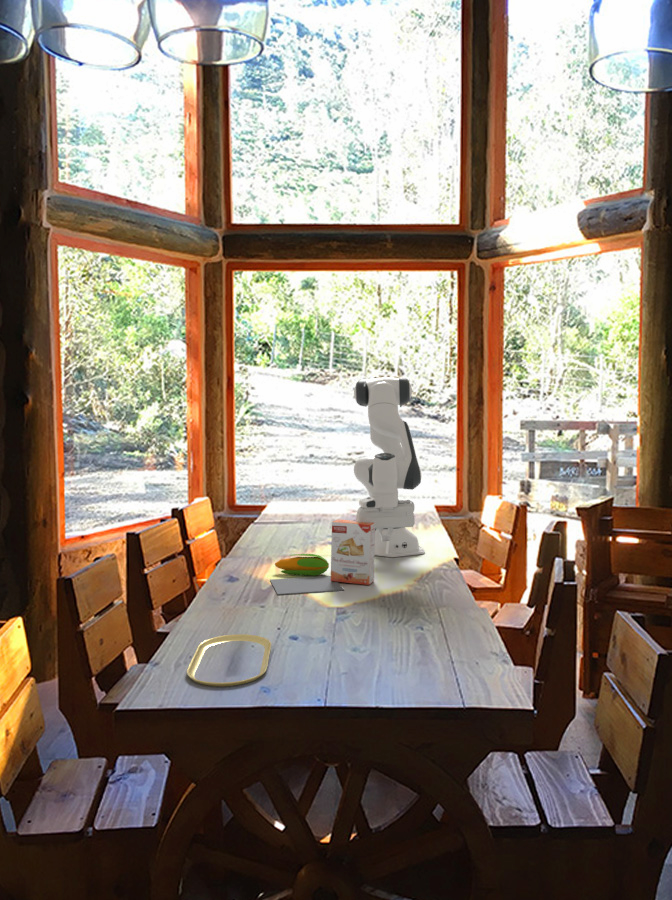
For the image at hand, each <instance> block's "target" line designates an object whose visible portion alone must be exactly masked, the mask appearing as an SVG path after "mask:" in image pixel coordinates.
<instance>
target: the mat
mask: <svg viewBox="0 0 672 900" xmlns="http://www.w3.org/2000/svg"><path fill="white" fill-rule="evenodd" d="M269 581H270V583H271V585H272V587H273V589H274V591H275V592H276V594H277V596H286V595H300V594H301V595H302V594H303V595H304V594H316V593H329V592H330V593H331V592H344V591H345V589H344V587H342V585H341V584H340V582H335V581H331V575H321V576H319V575H317V576H302V577H288V578H274V579H269Z"/></svg>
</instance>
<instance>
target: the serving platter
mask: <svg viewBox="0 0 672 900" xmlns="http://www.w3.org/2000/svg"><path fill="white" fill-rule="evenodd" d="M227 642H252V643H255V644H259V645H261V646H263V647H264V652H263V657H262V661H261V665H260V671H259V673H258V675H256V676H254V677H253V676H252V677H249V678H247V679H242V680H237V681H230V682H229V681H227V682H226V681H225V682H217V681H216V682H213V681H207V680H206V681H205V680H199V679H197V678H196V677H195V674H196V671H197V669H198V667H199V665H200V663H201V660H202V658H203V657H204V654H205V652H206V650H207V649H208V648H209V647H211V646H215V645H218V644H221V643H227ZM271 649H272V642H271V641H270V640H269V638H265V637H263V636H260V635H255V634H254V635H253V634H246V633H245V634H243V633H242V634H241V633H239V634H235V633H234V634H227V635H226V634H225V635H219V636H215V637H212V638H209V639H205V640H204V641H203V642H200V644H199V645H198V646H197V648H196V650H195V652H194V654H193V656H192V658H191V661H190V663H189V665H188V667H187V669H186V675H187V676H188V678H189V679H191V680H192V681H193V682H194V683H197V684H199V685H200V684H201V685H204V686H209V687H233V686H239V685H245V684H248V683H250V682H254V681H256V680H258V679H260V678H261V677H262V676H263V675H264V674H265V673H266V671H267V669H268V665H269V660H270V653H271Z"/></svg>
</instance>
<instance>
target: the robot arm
mask: <svg viewBox="0 0 672 900" xmlns="http://www.w3.org/2000/svg"><path fill="white" fill-rule="evenodd" d="M411 385H412V384H411V383H410V380H408V378H405V377H399V376H398V377H391V376H390V377H389V376H388V377H387V376H386V377H378V378H377V377H376V378H375V377H374V378H369V379H366V378H365V379H360V380H358V381H357V382H356V383H355V386H354V389H353V396H354V397H353V398H354V399H355V402H356V404H358V406H361V407H367V415H368V416H367V417H368V423H369V428H370V429H369V431H370V432H369V433H370V435H369V436H370V437H369V438H370V441H371V443H372V444H373V445H374V446H376V447H378V448H379V449H380V450H382V451H383V452H381V453H377V454H375V455H369V456H367V455H366V456H362V457H359V458H358V459H357V460H356V461H355V463H354V465H353V473H354V477H355V478H356V480H357V481H358V482H360V483H361V484H362V485H363V486H364V487H365V489H366V490H367V493H368V494H369V496H367V497H365V498H362V499H360V500H358V504H359V506H360V507H358V509H357V511H356V517H355V521H357V522H359V523H362V522H368V523H374V528H375V550H374V556H377V557H379V556H380V557H386V558H398V557H406V556H407V557H408V556H417V555H423V554H425V549H424V548H423V547H421V546H420V545H419V544H420V543H419V540H418V537H417V536H416V534H414V533H413V532H411V531H410V530H409V529H408V528H412V527H414V526H415V524H416V523H415V514H414V512H415V504H414V502H413V501H412V500H410V499H405V500H402V499H399V490H398V489H401V490H402V489H403V490H414V489H416V488H417V487H418V486H420V484H421V482H422V471H421V467H420V465H419V461H418V458H417V454H416V450H415V445H414V440H413V437H412V434H411V430H410V427H409V425H408V423H407V421H405V420H403V419H402V418H401V416H400V413H399V408H402V407H403V406H404V405H407V404H408V403H409V402H410V401H411V397H412V393H413V388H412V386H411Z"/></svg>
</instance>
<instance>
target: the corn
mask: <svg viewBox="0 0 672 900" xmlns="http://www.w3.org/2000/svg"><path fill="white" fill-rule="evenodd" d="M289 556H290V557H289V558H281V559H279V560H277V562H275V563H274V565H275V567H276V568H278V569H281V570H280V573H282V574H286V575H290V576H300V575H304V576H303V577H318V576H319V575H323V574H324V573H326V572H327V571H328V569H329V567H330V566H329V565H330V564H329V562H328V561H327V559H326V558H324V557H323V556H322V555H318V554H316V553H315V554H314V553H300V554H289ZM291 556H295V557H291Z"/></svg>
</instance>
